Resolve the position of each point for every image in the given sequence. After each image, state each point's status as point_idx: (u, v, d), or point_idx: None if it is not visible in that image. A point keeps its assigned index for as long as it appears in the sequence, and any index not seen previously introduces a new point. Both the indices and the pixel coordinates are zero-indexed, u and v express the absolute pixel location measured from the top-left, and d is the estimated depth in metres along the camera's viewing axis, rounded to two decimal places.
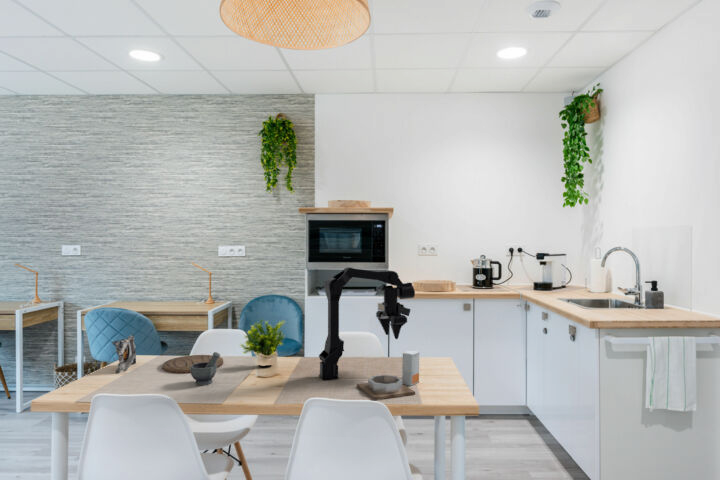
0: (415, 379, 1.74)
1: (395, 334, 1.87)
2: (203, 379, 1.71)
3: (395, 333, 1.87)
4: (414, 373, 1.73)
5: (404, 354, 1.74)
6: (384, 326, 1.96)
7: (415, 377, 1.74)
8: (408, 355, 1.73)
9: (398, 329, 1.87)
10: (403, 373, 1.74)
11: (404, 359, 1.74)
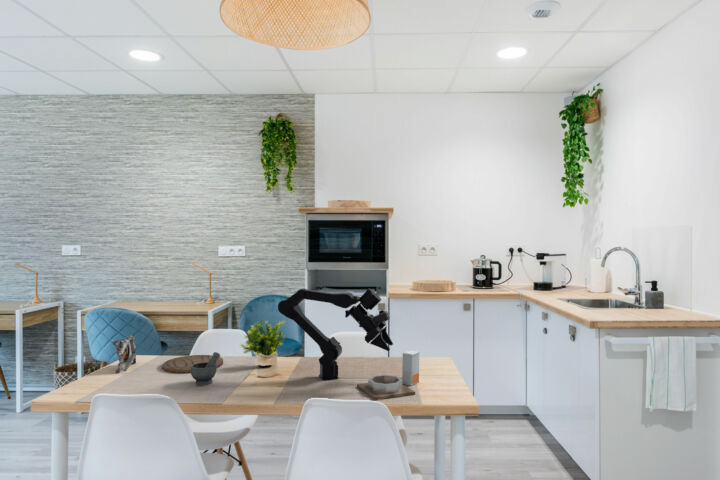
0: (415, 379, 1.74)
1: (383, 347, 1.72)
2: (203, 379, 1.71)
3: (382, 346, 1.72)
4: (414, 373, 1.73)
5: (404, 354, 1.74)
6: (383, 339, 1.83)
7: (415, 377, 1.74)
8: (408, 355, 1.73)
9: (381, 342, 1.72)
10: (403, 373, 1.74)
11: (404, 359, 1.74)
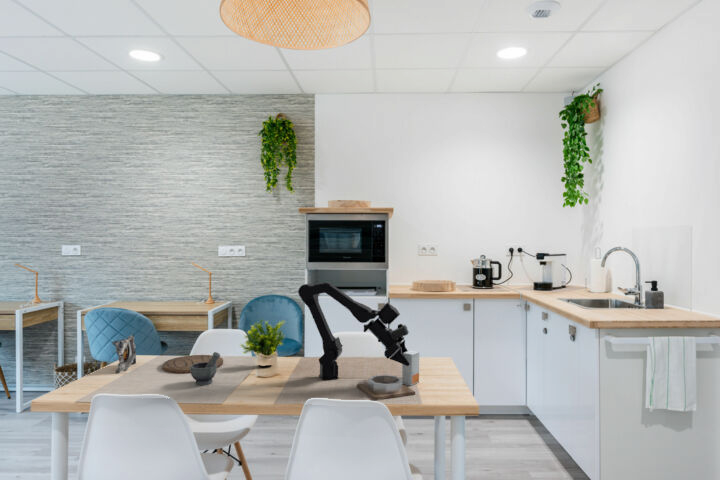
0: (415, 379, 1.74)
1: (403, 363, 1.71)
2: (203, 379, 1.71)
3: (402, 362, 1.71)
4: (414, 373, 1.73)
5: (404, 354, 1.74)
6: (402, 354, 1.81)
7: (415, 377, 1.74)
8: (408, 355, 1.73)
9: (401, 357, 1.70)
10: (403, 373, 1.74)
11: None
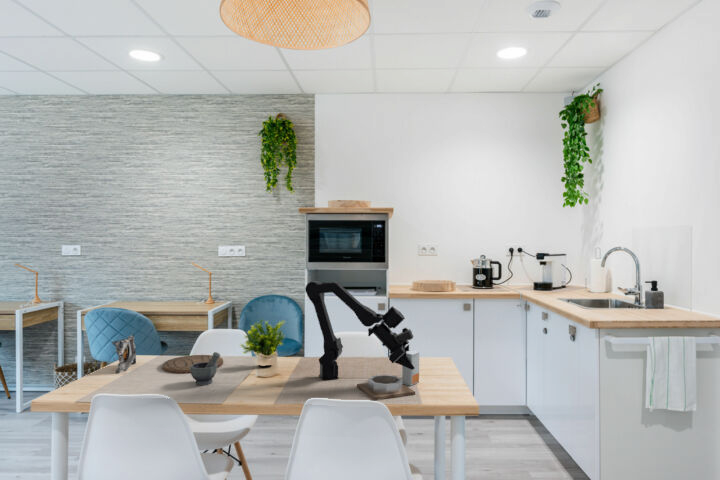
0: (415, 379, 1.74)
1: (408, 366, 1.71)
2: (203, 379, 1.71)
3: (407, 365, 1.71)
4: (414, 373, 1.73)
5: None
6: None
7: (415, 377, 1.74)
8: (408, 355, 1.73)
9: (406, 360, 1.71)
10: (403, 373, 1.74)
11: None
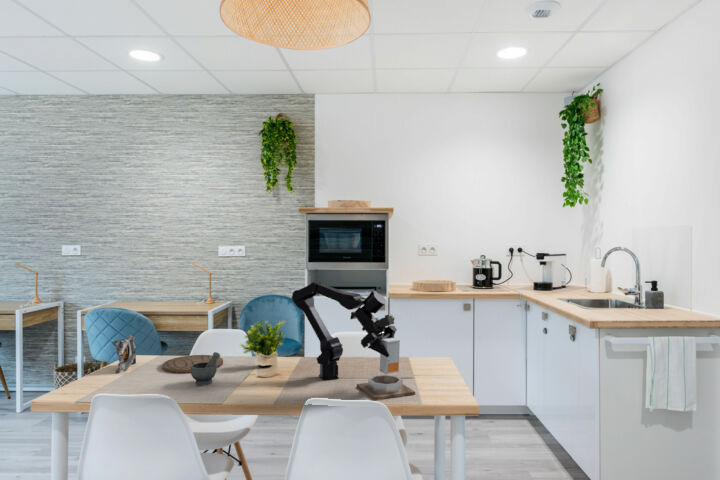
0: (393, 368, 1.66)
1: (382, 353, 1.64)
2: (203, 379, 1.71)
3: (381, 352, 1.65)
4: (390, 361, 1.66)
5: None
6: None
7: (393, 365, 1.66)
8: (384, 342, 1.66)
9: (380, 347, 1.64)
10: (380, 360, 1.68)
11: None
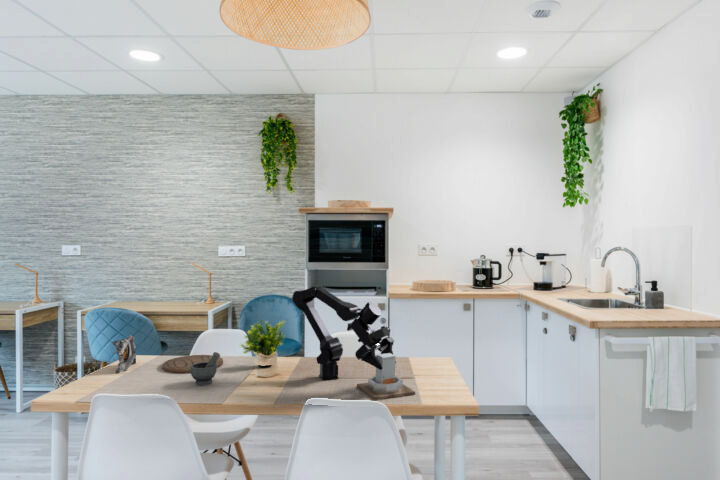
0: None
1: (375, 366, 1.63)
2: (203, 379, 1.71)
3: (374, 364, 1.63)
4: (385, 377, 1.64)
5: (377, 356, 1.66)
6: None
7: (388, 381, 1.65)
8: (380, 358, 1.64)
9: (373, 359, 1.63)
10: (376, 376, 1.66)
11: None
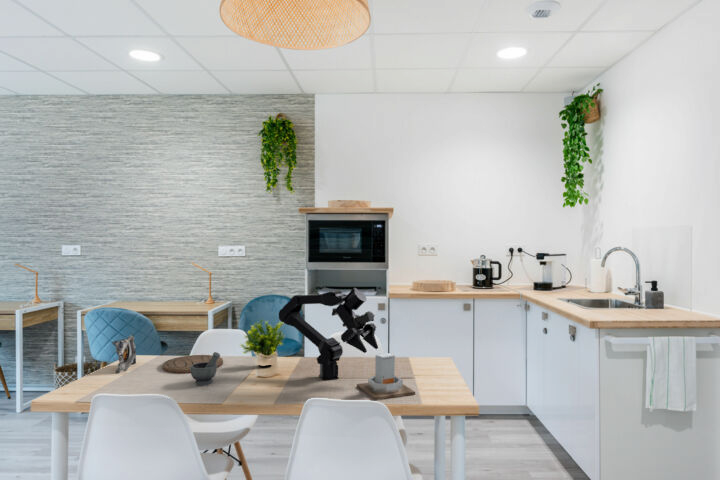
0: None
1: (360, 349, 1.68)
2: (203, 379, 1.71)
3: (359, 347, 1.68)
4: (385, 377, 1.64)
5: (376, 356, 1.66)
6: (369, 342, 1.78)
7: (388, 381, 1.65)
8: (379, 357, 1.65)
9: (358, 342, 1.68)
10: (376, 376, 1.67)
11: (376, 361, 1.66)
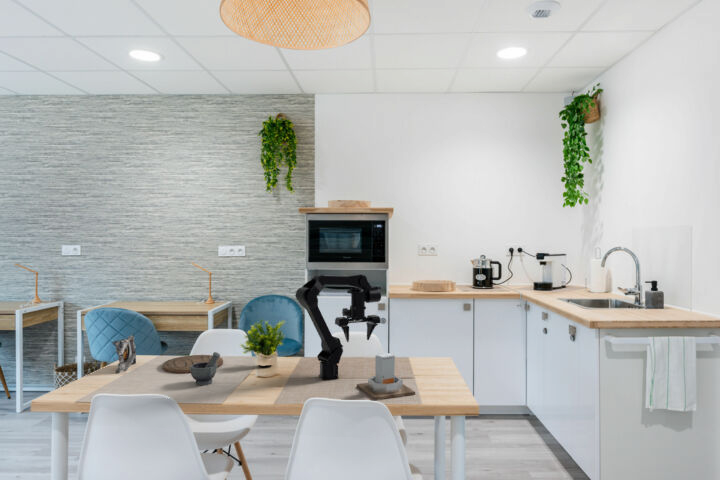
0: None
1: None
2: (203, 379, 1.71)
3: None
4: (385, 377, 1.64)
5: (376, 356, 1.66)
6: None
7: (388, 381, 1.65)
8: (379, 357, 1.65)
9: None
10: (376, 376, 1.67)
11: (376, 361, 1.66)
